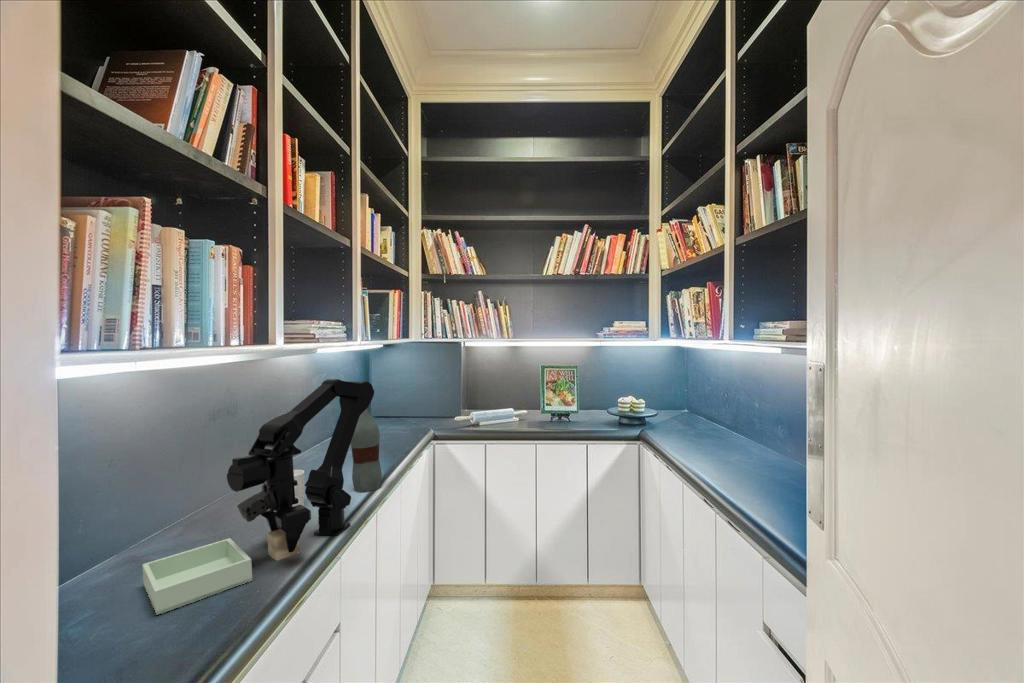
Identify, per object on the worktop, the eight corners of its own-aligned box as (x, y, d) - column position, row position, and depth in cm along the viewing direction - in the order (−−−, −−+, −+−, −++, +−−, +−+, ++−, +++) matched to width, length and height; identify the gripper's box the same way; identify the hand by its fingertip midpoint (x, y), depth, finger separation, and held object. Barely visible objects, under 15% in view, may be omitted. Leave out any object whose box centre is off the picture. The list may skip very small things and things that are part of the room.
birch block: (291, 547, 110) (290, 525, 110) (299, 553, 107) (298, 531, 107) (268, 554, 107) (267, 532, 107) (276, 561, 103) (274, 538, 103)
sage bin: (231, 557, 106) (229, 538, 106) (252, 581, 95) (251, 559, 95) (143, 586, 95) (142, 564, 95) (156, 616, 84) (155, 591, 84)
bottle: (367, 482, 158) (362, 393, 158) (388, 484, 154) (383, 393, 154) (346, 491, 150) (341, 397, 149) (368, 494, 146) (362, 397, 145)
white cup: (311, 506, 137) (309, 472, 137) (283, 515, 131) (281, 479, 131) (299, 501, 142) (297, 468, 142) (271, 509, 137) (269, 474, 136)
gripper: (228, 479, 108) (232, 546, 108) (254, 496, 94) (258, 573, 95) (279, 467, 115) (283, 530, 116) (310, 481, 102) (314, 553, 102)
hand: (283, 545), depth 107 cm, fingers open, 9 cm apart
